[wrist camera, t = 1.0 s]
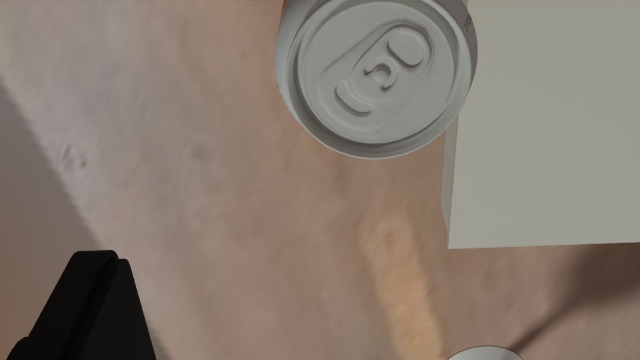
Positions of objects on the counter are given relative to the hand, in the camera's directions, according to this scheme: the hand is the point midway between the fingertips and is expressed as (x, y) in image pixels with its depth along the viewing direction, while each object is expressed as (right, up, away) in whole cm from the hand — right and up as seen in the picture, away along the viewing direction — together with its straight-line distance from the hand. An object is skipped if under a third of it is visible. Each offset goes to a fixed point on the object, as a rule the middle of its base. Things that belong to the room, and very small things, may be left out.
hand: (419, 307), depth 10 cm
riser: (+11, +7, +24) cm, 27 cm away
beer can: (0, +13, +20) cm, 24 cm away
